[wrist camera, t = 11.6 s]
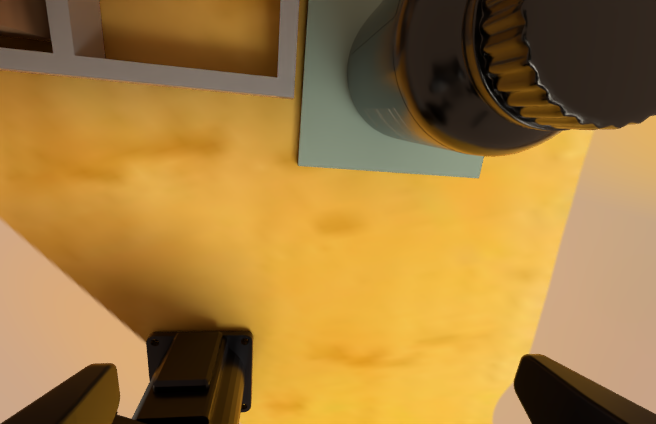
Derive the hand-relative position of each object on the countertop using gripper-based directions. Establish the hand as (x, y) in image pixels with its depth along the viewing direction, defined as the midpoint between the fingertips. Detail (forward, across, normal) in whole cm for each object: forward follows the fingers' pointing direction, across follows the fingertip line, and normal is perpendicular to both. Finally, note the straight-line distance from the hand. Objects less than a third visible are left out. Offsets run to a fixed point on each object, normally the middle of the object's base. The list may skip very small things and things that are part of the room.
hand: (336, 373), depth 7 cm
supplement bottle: (+13, -5, -8) cm, 16 cm away
